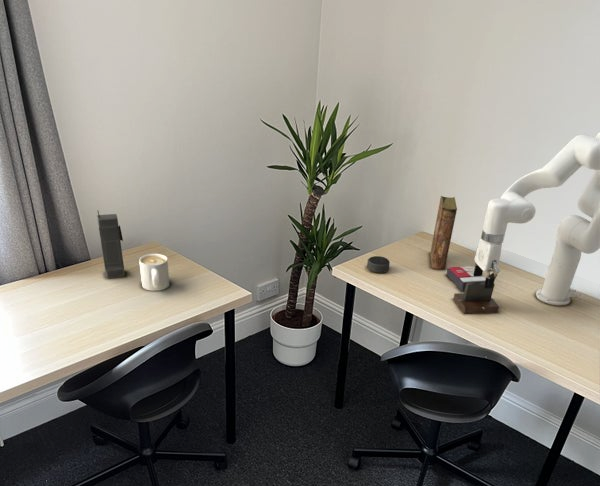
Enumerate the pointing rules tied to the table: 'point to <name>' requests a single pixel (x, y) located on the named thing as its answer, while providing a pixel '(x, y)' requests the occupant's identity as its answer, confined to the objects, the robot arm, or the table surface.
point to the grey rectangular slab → (477, 292)
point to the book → (443, 232)
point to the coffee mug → (154, 272)
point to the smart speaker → (378, 264)
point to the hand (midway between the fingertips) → (482, 281)
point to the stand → (475, 305)
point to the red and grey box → (463, 276)
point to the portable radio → (111, 245)
